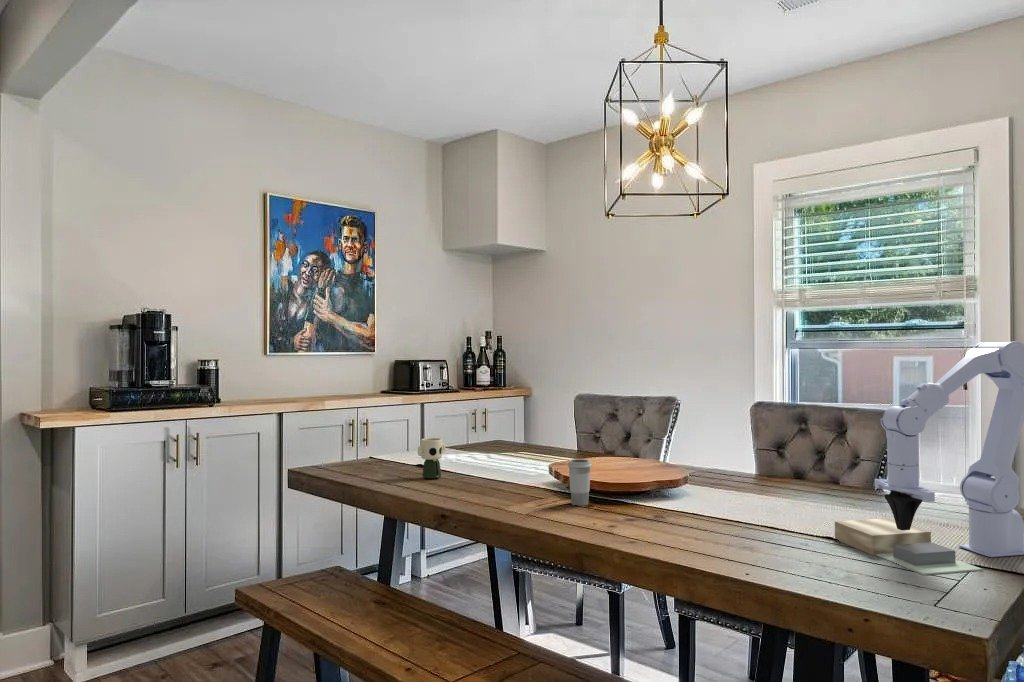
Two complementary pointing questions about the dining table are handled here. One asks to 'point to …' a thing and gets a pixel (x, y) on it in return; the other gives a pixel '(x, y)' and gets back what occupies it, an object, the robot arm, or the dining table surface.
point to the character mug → (431, 456)
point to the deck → (878, 535)
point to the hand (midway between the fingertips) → (903, 529)
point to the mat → (932, 566)
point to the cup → (579, 481)
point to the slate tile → (924, 554)
